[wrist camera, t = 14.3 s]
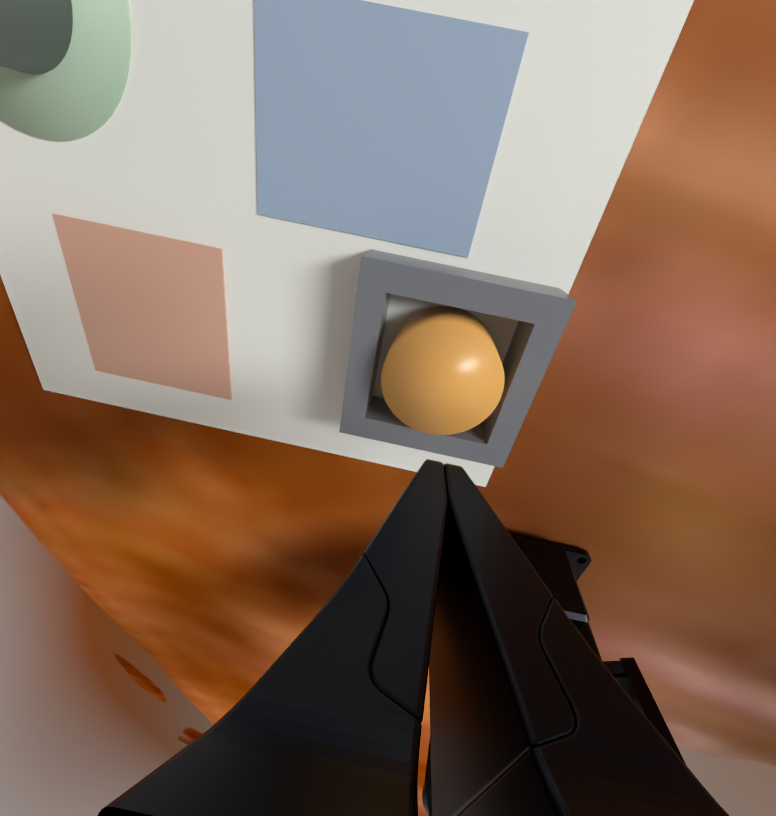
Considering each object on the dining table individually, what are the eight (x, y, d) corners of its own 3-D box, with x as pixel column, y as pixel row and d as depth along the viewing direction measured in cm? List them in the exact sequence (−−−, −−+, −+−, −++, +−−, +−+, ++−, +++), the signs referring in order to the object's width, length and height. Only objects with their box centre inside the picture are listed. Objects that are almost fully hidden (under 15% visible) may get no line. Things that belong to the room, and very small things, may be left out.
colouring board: (484, 479, 19) (485, 488, 18) (53, 384, 19) (41, 390, 19) (1061, -898, 5) (1142, -1041, 5) (-471, -1099, 6) (-577, -1251, 5)
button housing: (496, 441, 17) (502, 467, 15) (349, 409, 17) (339, 432, 15) (559, 288, 13) (576, 300, 12) (371, 249, 13) (361, 255, 12)
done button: (476, 413, 16) (482, 445, 14) (381, 392, 16) (372, 421, 14) (510, 318, 14) (523, 340, 12) (400, 295, 14) (392, 312, 12)
